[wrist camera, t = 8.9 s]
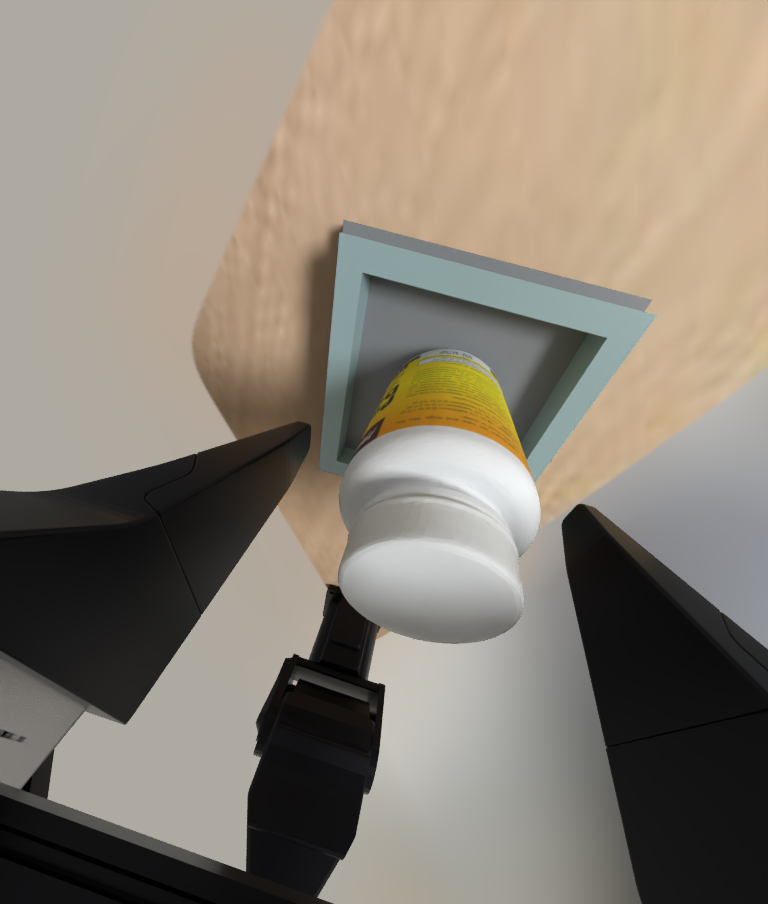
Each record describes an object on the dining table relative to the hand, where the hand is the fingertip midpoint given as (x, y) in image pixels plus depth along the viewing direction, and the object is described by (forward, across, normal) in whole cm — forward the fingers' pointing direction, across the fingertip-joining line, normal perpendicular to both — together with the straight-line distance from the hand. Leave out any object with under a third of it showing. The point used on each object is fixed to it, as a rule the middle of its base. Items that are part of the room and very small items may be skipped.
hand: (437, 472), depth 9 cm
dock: (+7, 0, 0) cm, 7 cm away
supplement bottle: (+6, 0, 0) cm, 6 cm away
